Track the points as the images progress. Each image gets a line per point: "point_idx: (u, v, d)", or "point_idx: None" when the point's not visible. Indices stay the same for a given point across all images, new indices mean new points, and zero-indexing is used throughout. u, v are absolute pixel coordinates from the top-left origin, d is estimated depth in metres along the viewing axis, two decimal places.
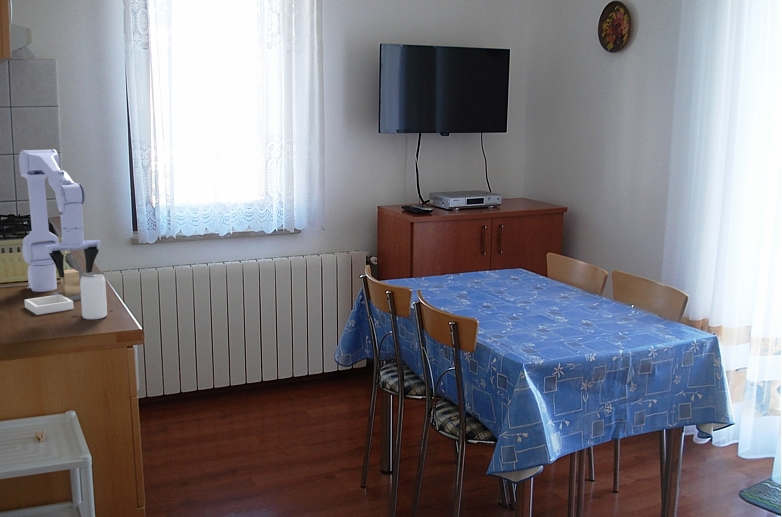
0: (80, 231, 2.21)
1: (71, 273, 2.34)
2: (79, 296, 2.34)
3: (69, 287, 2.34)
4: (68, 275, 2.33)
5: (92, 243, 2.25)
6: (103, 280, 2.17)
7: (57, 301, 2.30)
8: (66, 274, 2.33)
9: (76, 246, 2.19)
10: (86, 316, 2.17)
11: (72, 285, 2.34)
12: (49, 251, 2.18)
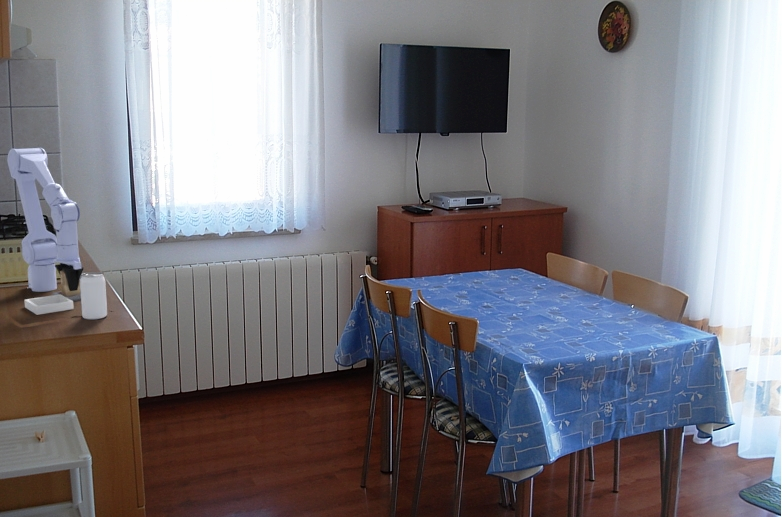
0: (60, 248, 2.31)
1: None
2: (79, 296, 2.34)
3: None
4: None
5: (69, 263, 2.30)
6: (103, 280, 2.17)
7: (57, 301, 2.30)
8: None
9: (54, 261, 2.32)
10: (86, 316, 2.17)
11: None
12: None
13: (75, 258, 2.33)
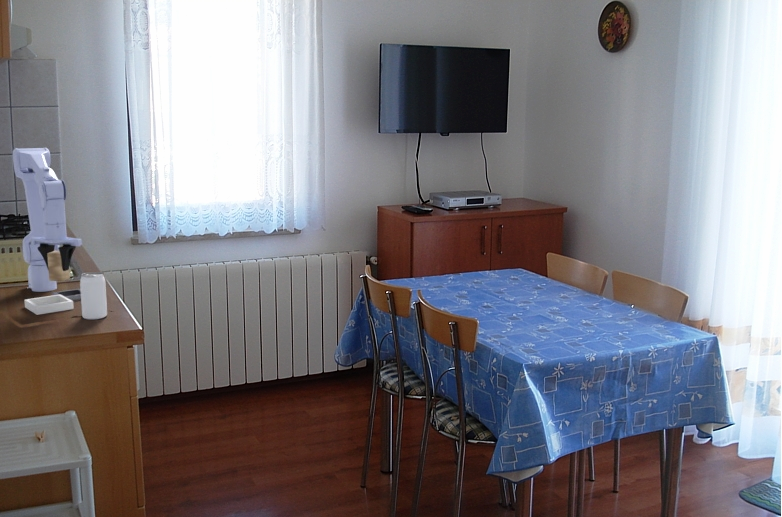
0: (54, 227, 2.24)
1: None
2: (79, 296, 2.34)
3: None
4: None
5: (69, 241, 2.25)
6: (103, 280, 2.17)
7: (57, 301, 2.30)
8: None
9: (46, 241, 2.23)
10: (86, 316, 2.17)
11: None
12: (32, 243, 2.27)
13: (66, 236, 2.28)
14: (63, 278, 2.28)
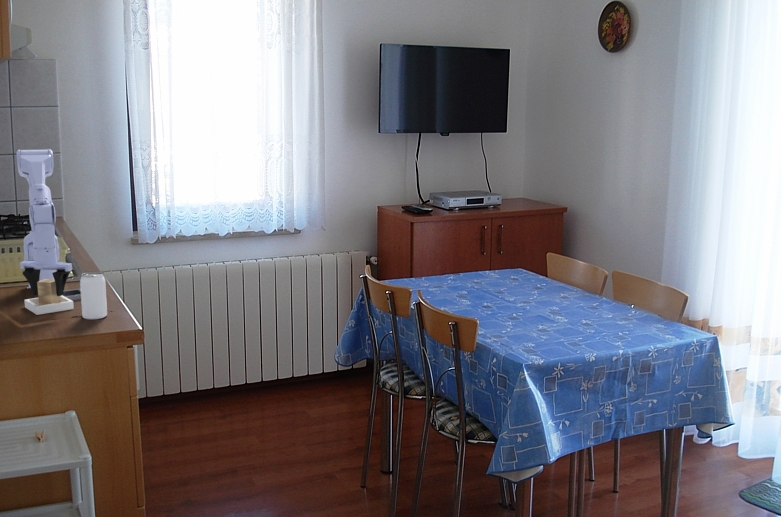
0: (44, 252, 2.19)
1: (54, 282, 2.23)
2: (79, 296, 2.34)
3: (53, 296, 2.23)
4: (52, 284, 2.23)
5: (58, 266, 2.20)
6: (103, 280, 2.17)
7: None
8: (51, 283, 2.22)
9: (35, 266, 2.19)
10: (86, 316, 2.17)
11: (55, 294, 2.24)
12: (21, 267, 2.23)
13: (56, 261, 2.23)
14: None
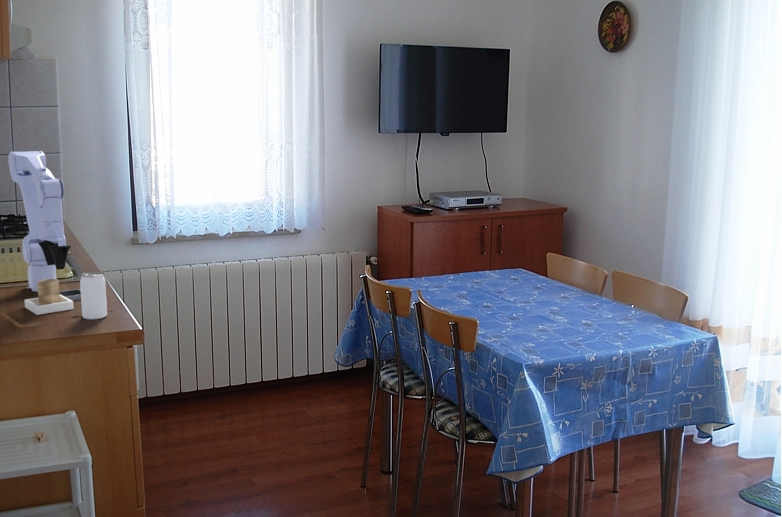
0: (45, 225, 2.28)
1: (54, 282, 2.23)
2: (79, 296, 2.34)
3: (53, 296, 2.23)
4: (52, 284, 2.23)
5: (54, 240, 2.27)
6: (103, 280, 2.17)
7: None
8: (51, 283, 2.22)
9: (38, 238, 2.29)
10: (86, 316, 2.17)
11: (55, 294, 2.24)
12: None
13: (60, 235, 2.30)
14: None
